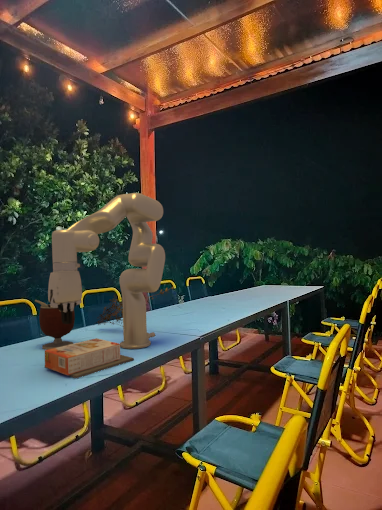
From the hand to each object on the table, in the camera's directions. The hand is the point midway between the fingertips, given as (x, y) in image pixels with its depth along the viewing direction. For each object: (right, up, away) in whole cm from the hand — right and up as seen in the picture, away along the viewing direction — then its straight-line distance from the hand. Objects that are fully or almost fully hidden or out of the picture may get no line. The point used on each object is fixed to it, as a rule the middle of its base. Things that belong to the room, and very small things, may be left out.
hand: (67, 323), depth 117 cm
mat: (+6, -15, +6) cm, 17 cm away
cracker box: (-3, -12, -4) cm, 12 cm away
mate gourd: (-16, -16, +32) cm, 39 cm away
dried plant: (+12, -15, +57) cm, 60 cm away
